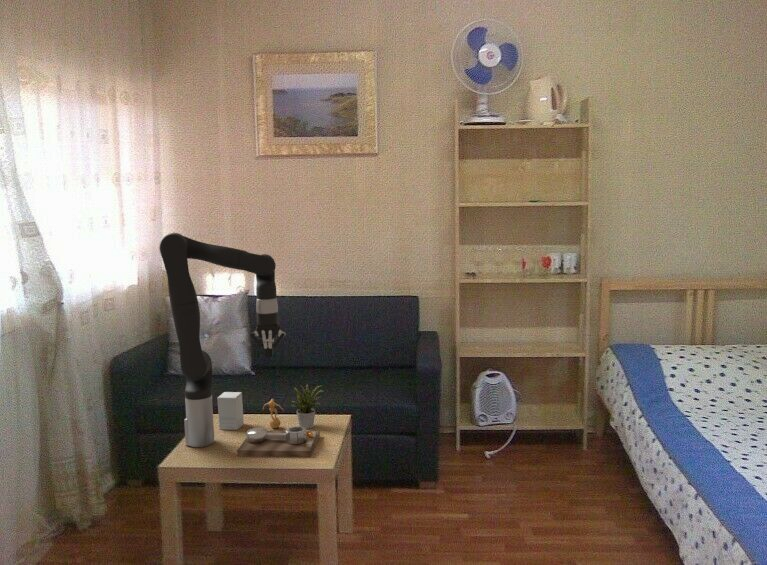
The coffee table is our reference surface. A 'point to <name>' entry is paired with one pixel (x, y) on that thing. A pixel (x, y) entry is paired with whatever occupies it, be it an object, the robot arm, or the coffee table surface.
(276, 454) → the stand base
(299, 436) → the baby rattle
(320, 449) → the coffee table surface
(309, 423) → the house plant
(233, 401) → the supplement box
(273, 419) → the figurine
